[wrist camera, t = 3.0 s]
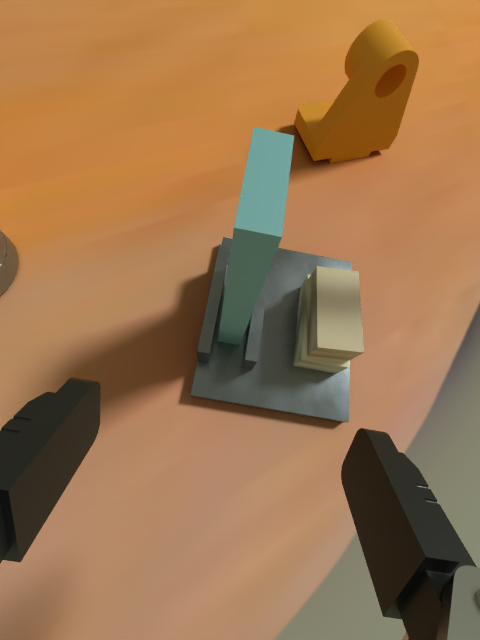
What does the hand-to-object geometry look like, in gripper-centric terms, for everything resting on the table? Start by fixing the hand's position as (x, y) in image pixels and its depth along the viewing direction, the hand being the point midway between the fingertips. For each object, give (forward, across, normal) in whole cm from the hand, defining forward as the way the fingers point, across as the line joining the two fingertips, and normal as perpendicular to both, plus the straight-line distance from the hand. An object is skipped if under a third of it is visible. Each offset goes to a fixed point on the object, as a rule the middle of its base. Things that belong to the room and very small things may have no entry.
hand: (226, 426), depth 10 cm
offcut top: (+17, -8, +2) cm, 19 cm away
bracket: (+40, -10, -14) cm, 43 cm away
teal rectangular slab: (+19, 0, +4) cm, 20 cm away
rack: (+20, -4, +5) cm, 21 cm away
